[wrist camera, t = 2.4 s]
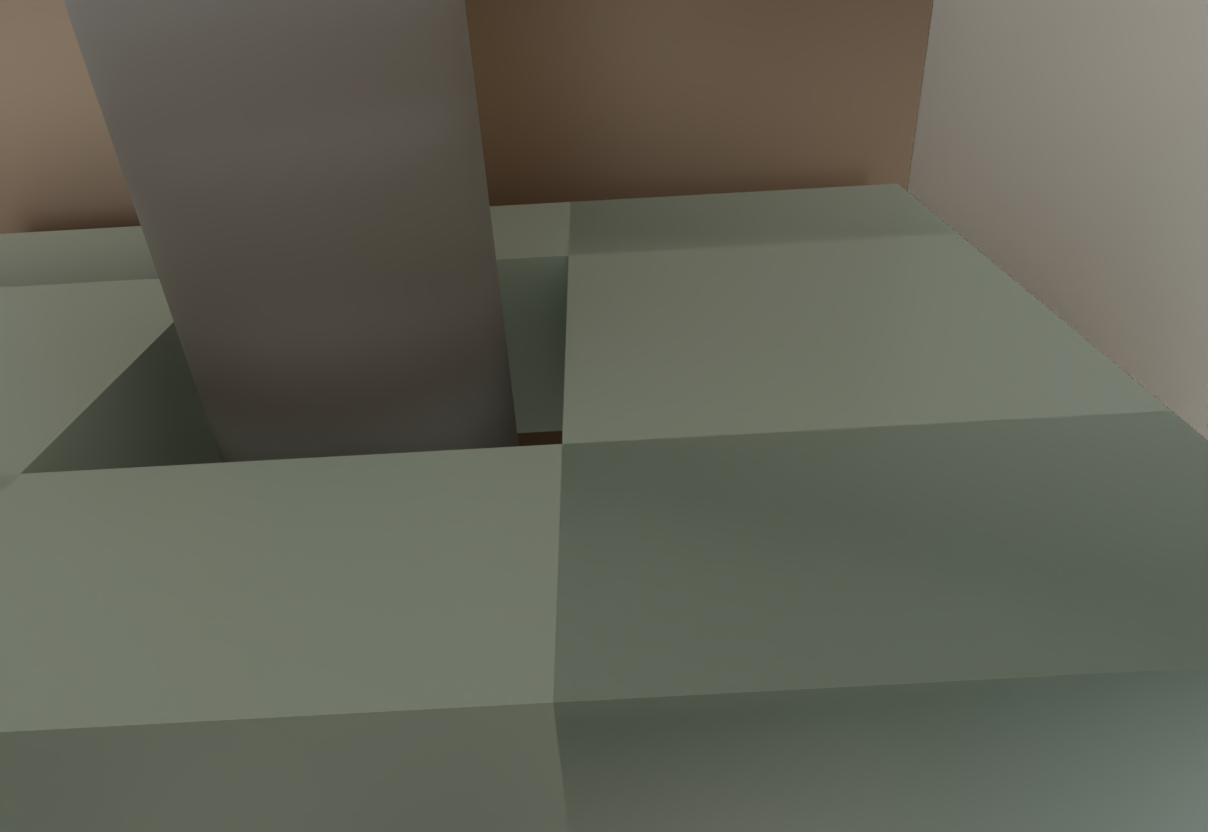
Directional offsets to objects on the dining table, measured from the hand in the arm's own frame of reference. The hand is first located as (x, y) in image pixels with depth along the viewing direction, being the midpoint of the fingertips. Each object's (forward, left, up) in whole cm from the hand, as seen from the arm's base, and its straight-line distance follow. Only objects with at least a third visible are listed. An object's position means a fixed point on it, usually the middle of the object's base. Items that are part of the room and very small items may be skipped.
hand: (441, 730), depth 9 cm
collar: (+4, 0, -4) cm, 5 cm away
